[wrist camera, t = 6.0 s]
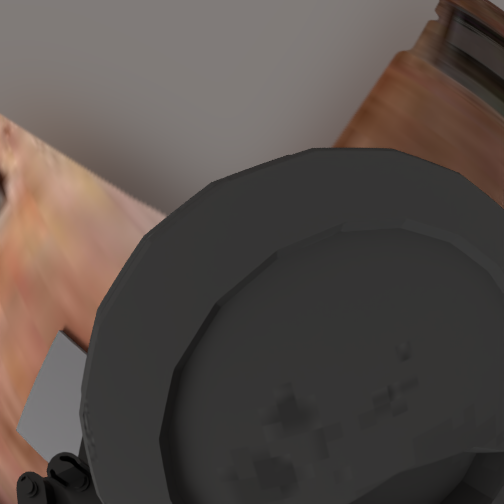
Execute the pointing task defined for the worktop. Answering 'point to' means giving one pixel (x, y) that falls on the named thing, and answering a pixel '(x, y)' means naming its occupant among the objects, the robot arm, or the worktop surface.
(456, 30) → the worktop surface
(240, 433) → the coffee cup
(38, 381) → the rubber mat
